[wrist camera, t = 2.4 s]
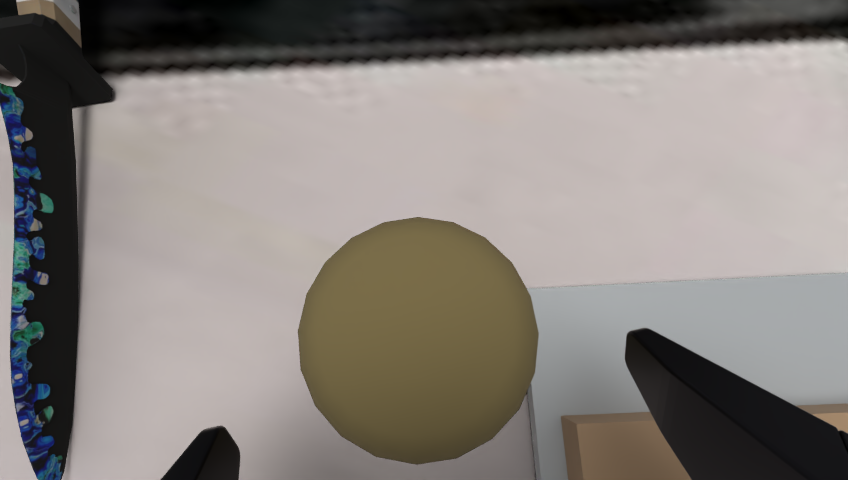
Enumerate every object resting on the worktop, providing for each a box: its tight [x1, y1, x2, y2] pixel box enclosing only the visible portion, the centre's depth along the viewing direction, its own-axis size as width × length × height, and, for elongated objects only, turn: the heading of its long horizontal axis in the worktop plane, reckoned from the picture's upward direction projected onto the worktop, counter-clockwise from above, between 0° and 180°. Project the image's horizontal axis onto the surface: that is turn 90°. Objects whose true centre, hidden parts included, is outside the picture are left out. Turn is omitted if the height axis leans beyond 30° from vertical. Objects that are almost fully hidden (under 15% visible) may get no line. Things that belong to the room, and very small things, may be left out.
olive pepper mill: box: [298, 217, 539, 465], centre depth 13 cm, size 6×6×11 cm
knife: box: [0, 0, 113, 480], centre depth 20 cm, size 31×3×4 cm, turn 6°
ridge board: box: [527, 273, 848, 480], centre depth 15 cm, size 14×14×3 cm
